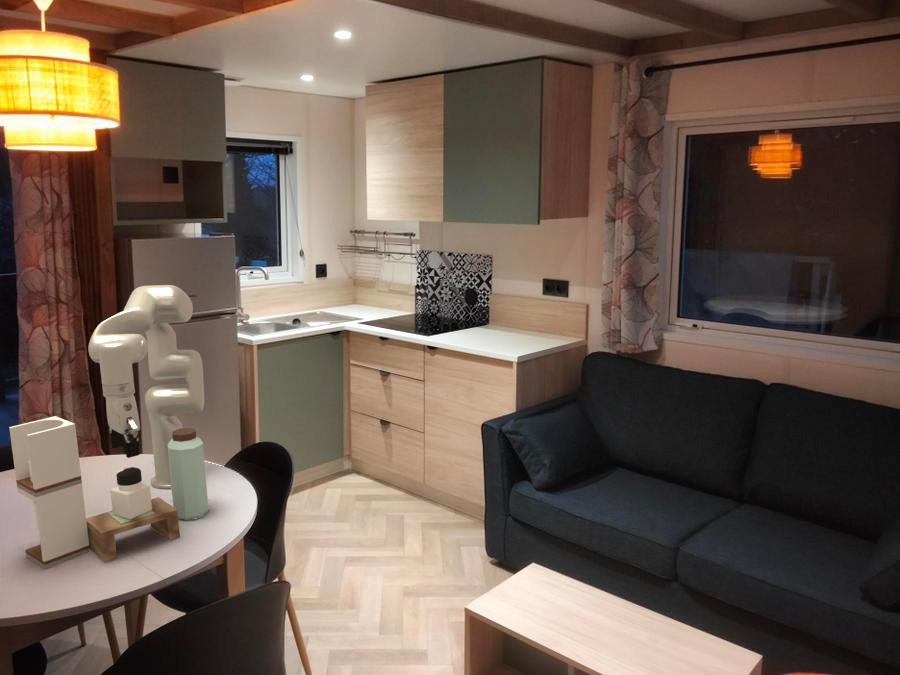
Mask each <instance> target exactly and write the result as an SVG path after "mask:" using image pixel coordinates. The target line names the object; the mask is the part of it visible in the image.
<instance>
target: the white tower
mask: <svg viewBox="0 0 900 675" xmlns="http://www.w3.org/2000/svg"><path fill="white" fill-rule="evenodd" d="M8 428H9V434H10V442H11V443H10V444H11V451H12V459H13V465H14V467H13V468H14V472H15V473H14V474H15V480H16V488H17V493H18V494H20V495H22V496H24V497H25V498H27V499H30V500H31V501H33V508H34V517H35V524H36V529H37V530H38V532H39V533H38V535H39V542H40V544H38V545H34V546H32V547H29V548H26V549H25V556H26V558H27V557H28V558H27V559H29V560H31V561H32V562H33V561H34V562H33V563H35V564H36V565H38V566H40V568H42V569H44V570H48V569H50V568H53V567H55V566H58V565H61V564H63V563H67V562H69V561H71V560H74V559H76V558H79V557H82V556H84V555H86V554H89V553H91V550H90V549H89V540H88V531H87V523H86V518H87V517H86V516H87V515H86V507H85V506H86V505H85V497H84V491H83V490H84V489H83V480H82V471H81V464H80V454H79V446H78V437H77V428H76V423H74V422H71V421H69V420H66V419H64V418H61V417H59V416H56V415H54V416H50V417H46V418H42V419H38V420H35V421H30V422H26V423H21V424H17V425H13V426H8Z"/></svg>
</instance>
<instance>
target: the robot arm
mask: <svg viewBox="0 0 900 675" xmlns="http://www.w3.org/2000/svg"><path fill="white" fill-rule="evenodd" d="M193 311H194V306H193V302H192V300H191V297H189V295H188V294H187V293H186V292H185V291H184V290H183V289H181V288H180V287H178V286H176V285H172V284H159V285H157V284H156V285H155V284H154V285H141V286H139V287H136V288H135V289H134V290H133V291H131V294H130V295H129V298H128V300H127V301H126V305H125V306H124V308H123V310H122V311H120V312H118V313H116V314H114V315H112V316H111V317H108V318H107V319H105V320H103V321H101V322H100V323H99V324H98V325H97V327H96V328H95V329H94V331H93V333H92V334H91V336H90V339H89V343H88V348H87V349H88V354H89V358H91V360H92V361H93V362H94V363H98V364H99V368H100V375H101V376H100V377H101V378H100V379H101V384H102V386H101V387H102V396H103V397H104V398H105V401H106V402H105V406H106V418H107V424H108V426H109V430H108V432H109V433H110V434H109V437H110V445H111V449H116V448H120V447H125V457H126V458H127V459H130V458H134V457H136V456H137V457H138V456H139V455H140V446H139V445H140V444H139V440H140V439H139V431H140V430H141V426H140V425H141V424H140V417H139V411H138V406H137V401H136V397H135V395H134V394H135V392H136V389H135V381H134V379H135V378H134V370H133V364H135V363H138V362H141V361H142V360H144V358H146V356H147V357H148V371H149V376H150V378H151V379H152V380H154V381H158V382H159V381H161V382H164V381H166V382H167V381H169V382H171V381H186V384H162V385H156V386H155V385H154V386H152V387H150V388H149V389H148V390H146V392H145V394H144V403H145V408H146V411H147V415H148V419H149V424H150V432H151V444H152V453H153V461H154V462H153V464H154V473H155V474H154V476H153V477H152V478H151V479H150V486H152V487H153V488H156V489H164V490H165V489H171V478H170V467H169V456H168V445H167V444H168V443H169V442H170V441H171V439H172V432H173V431H175V430H177V429H182V428H184V427H183V424H182V422H181V420H179V418H178V417H177V416H188V415H189V416H190V415H197V414H201V412H202V411H203V410H204V407H205V384H204V367H203V358H202V357H201V353H199V352H198V351H196V350H195V349H178V347H177V334H176V332H175V330H174V329H173V327H172V326H171V325H170V323H171V324H172V323H173V324H175V323H180V324H181V323H186V322H189V321H190V320H191V318H192V317H193V313H194V312H193ZM144 333H145V336H146V338H145V337H144V335H142V334H144Z"/></svg>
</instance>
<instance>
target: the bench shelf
mask: <svg viewBox="0 0 900 675" xmlns="http://www.w3.org/2000/svg"><path fill="white" fill-rule="evenodd" d="M151 503H152V510H151V511H149V512H147V513H144V514H142V515H140V516H137V517H135V518H133V519H131V520H130V519H127V518H123V517H120V516H117V515H114V514H113V510H110V511H107V512H103V513H100V514H96V515H93V516H90V517H86V523H87V531H88V540H89V549H90V552H93V553H94V555H95V556H97V557H98V558H99V559H100V560H101V561H102V562H104V563H107V562H110V561H113V560H117V558H118V557H117V548H116V547H117V546H116V540H115V539H116V538H115V535H119V534H123V533H125V532H127V531H131V530H135V529H138V528H140V527H144V526H147V525H150V528H151V529H152V530H154V531H155V532H156V533H158V534H160V535H161V536H162V538H165V539H166V540H167V541H169V542H171V541H173V540H177V539H179V538H181V533H180V532H181V531H180V522H179V521H180V519H178V510H177V509H176V508H174V507H173V505H171V504H170V503H169V502H166V500H163V499H162V498H161V497H159V496H158V497H153V498H151Z"/></svg>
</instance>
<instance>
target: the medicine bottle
mask: <svg viewBox="0 0 900 675" xmlns="http://www.w3.org/2000/svg"><path fill="white" fill-rule="evenodd" d="M115 475H116V482H117V486H116V487H113V488H111V489H110V491H109V492H110V497H111V498H110V500H111V507H112V508H111V511H113V514H114V515H117V516H120V517H123V518H127V519H130V520H131V519H133V518H135V517H137V516H140V515H142V514H144V513H147V512H149V511H151V510H152V503H151V499H152V495H151V485H149V484H146V483H143V478H142V477H143V476H142V470H141V469H140V468H139V467H133V466H130V467H125V468H121V469H119V470H118V471H117V472H116V474H115Z"/></svg>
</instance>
